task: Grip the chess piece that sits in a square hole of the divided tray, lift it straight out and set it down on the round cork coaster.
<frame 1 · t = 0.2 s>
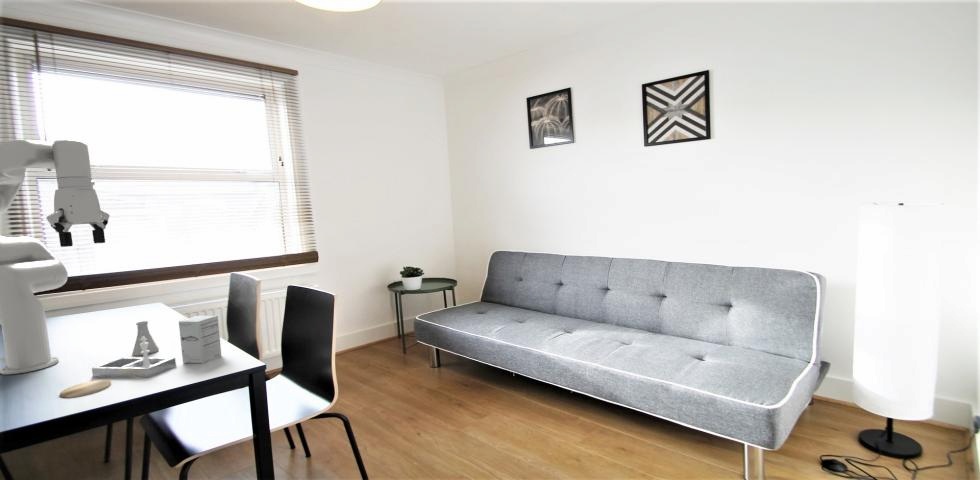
hand: (83, 244, 135), 36 cm above the table, tool pointing down, fingers open, 9 cm apart
flask: (145, 353, 152), on the table
supplement box: (202, 360, 141), on the table
coaster: (86, 389, 121), on the table
chess piece: (147, 372, 133), resting in divided tray
divided tray: (135, 371, 134), on the table
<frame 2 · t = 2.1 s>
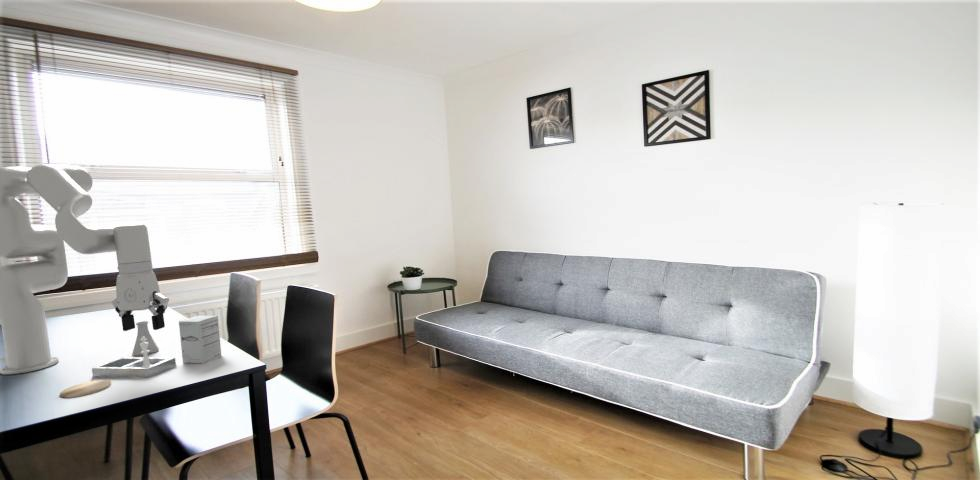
hand: (144, 329, 132), 12 cm above the table, tool pointing down, fingers open, 9 cm apart
nothing on the table moved.
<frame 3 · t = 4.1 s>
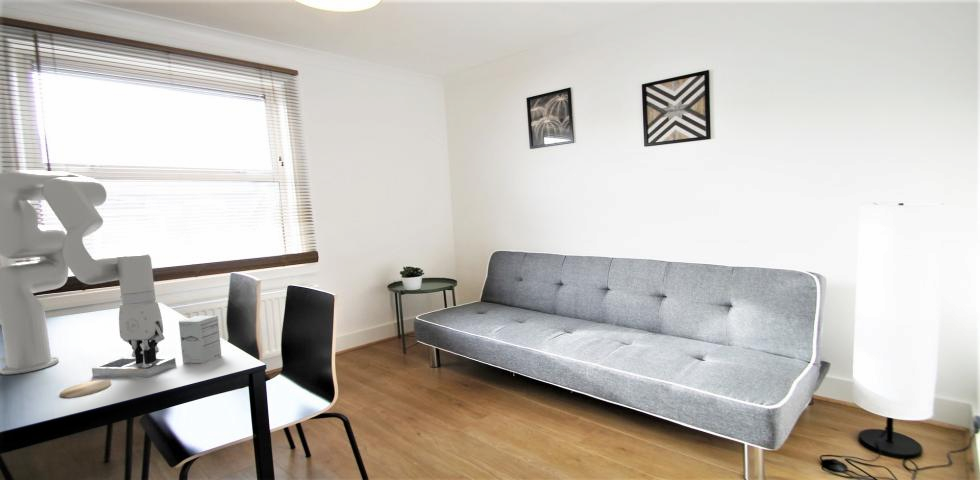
hand: (146, 361, 133), 3 cm above the table, tool pointing down, fingers closed on chess piece
chess piece: (147, 371, 133), resting in divided tray, touching gripper
everything else where it was.
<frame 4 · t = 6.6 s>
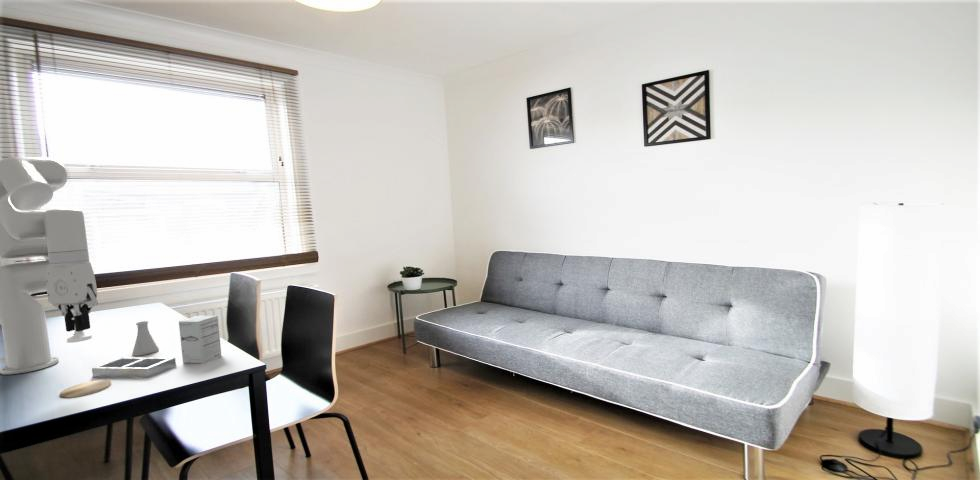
hand: (78, 329, 120), 16 cm above the table, tool pointing down, fingers closed on chess piece
chess piece: (79, 340, 120), point 13 cm above the table, touching gripper
everything else where it was.
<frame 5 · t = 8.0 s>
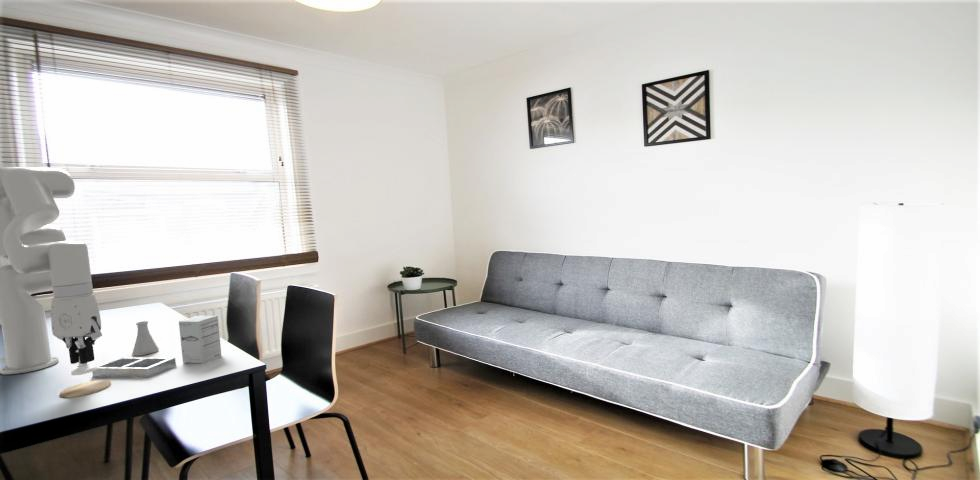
hand: (82, 361, 121), 7 cm above the table, tool pointing down, fingers closed on chess piece
chess piece: (84, 372, 121), point 5 cm above the table, touching gripper
everything else where it was.
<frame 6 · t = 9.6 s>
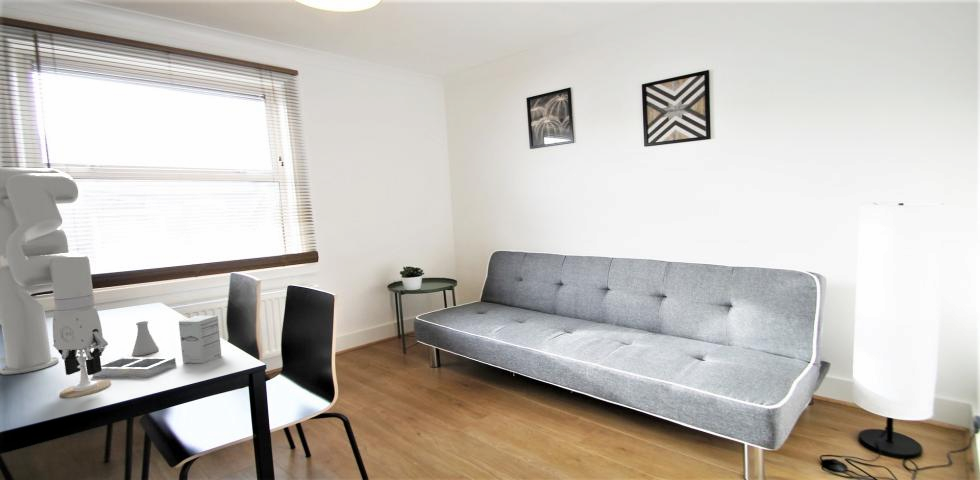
hand: (84, 372, 121), 5 cm above the table, tool pointing down, fingers open, 5 cm apart
chess piece: (85, 388, 121), resting on coaster
everything else where it was.
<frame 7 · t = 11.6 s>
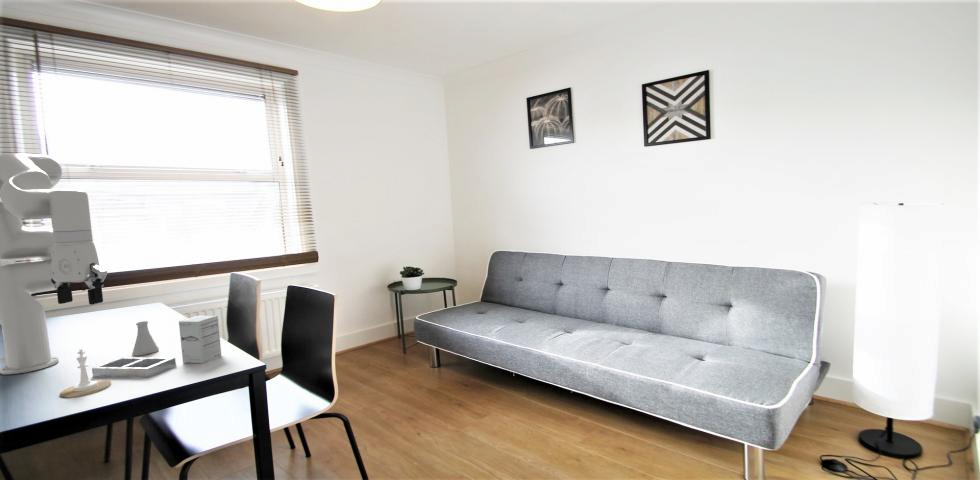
hand: (80, 303, 123), 22 cm above the table, tool pointing down, fingers open, 9 cm apart
nothing on the table moved.
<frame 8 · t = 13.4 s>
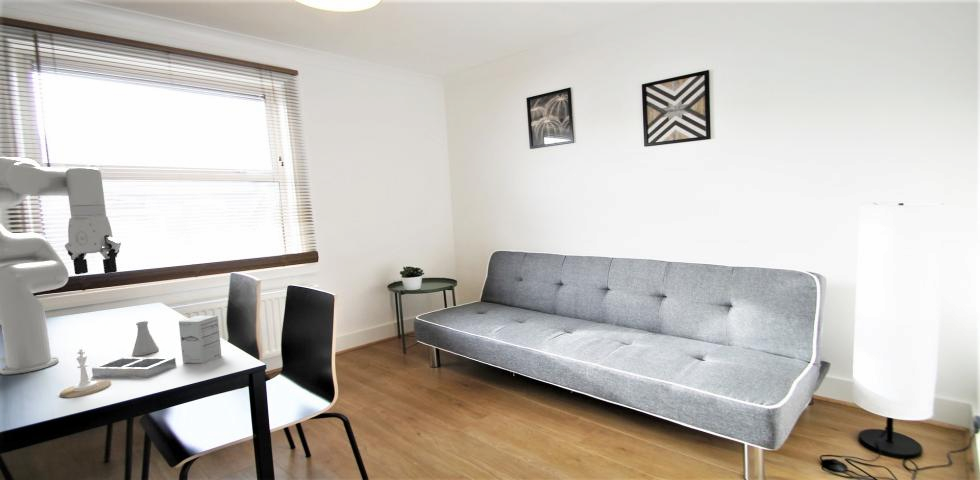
hand: (96, 273, 133), 28 cm above the table, tool pointing down, fingers open, 9 cm apart
nothing on the table moved.
at the end: chess piece 0.2 cm from the coaster (horizontally); chess piece tilted 0°; the gripper is holding nothing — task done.
